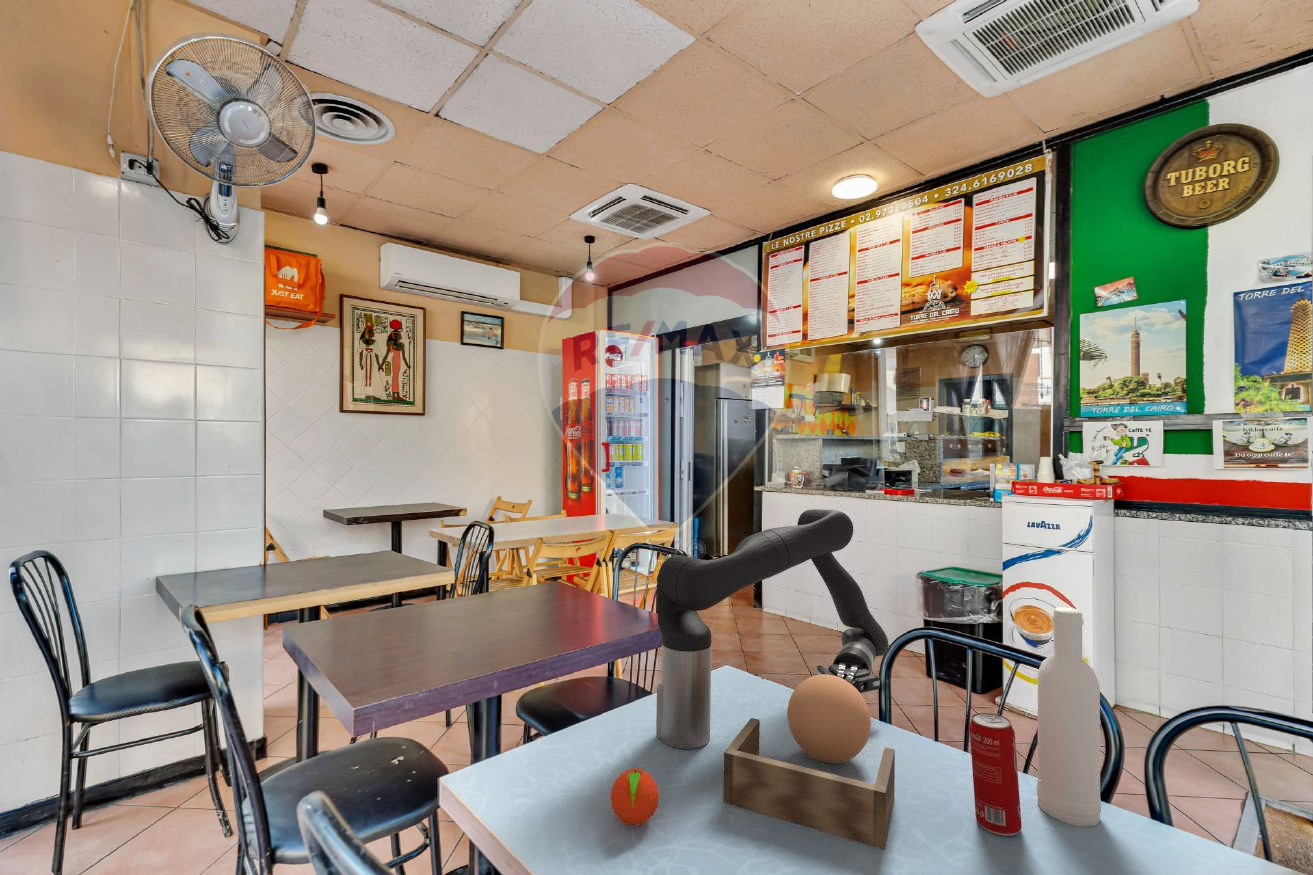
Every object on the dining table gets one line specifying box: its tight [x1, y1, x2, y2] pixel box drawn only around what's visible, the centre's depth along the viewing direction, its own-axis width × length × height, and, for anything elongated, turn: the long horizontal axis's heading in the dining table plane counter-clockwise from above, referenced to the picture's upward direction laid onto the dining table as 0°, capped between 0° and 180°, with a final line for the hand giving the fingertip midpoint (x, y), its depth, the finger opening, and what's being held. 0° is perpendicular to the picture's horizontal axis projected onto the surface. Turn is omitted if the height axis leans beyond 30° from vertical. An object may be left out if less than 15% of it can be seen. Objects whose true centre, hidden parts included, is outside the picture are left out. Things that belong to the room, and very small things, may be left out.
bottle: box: [1036, 606, 1102, 828], centre depth 90 cm, size 8×8×30 cm
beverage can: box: [969, 712, 1023, 837], centre depth 86 cm, size 6×6×15 cm
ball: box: [786, 674, 872, 764], centre depth 105 cm, size 14×14×14 cm
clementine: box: [610, 768, 660, 826], centre depth 86 cm, size 8×7×7 cm
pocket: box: [722, 717, 896, 850], centre depth 92 cm, size 23×14×8 cm, turn 63°
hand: (840, 692), depth 115 cm, fingers closed
